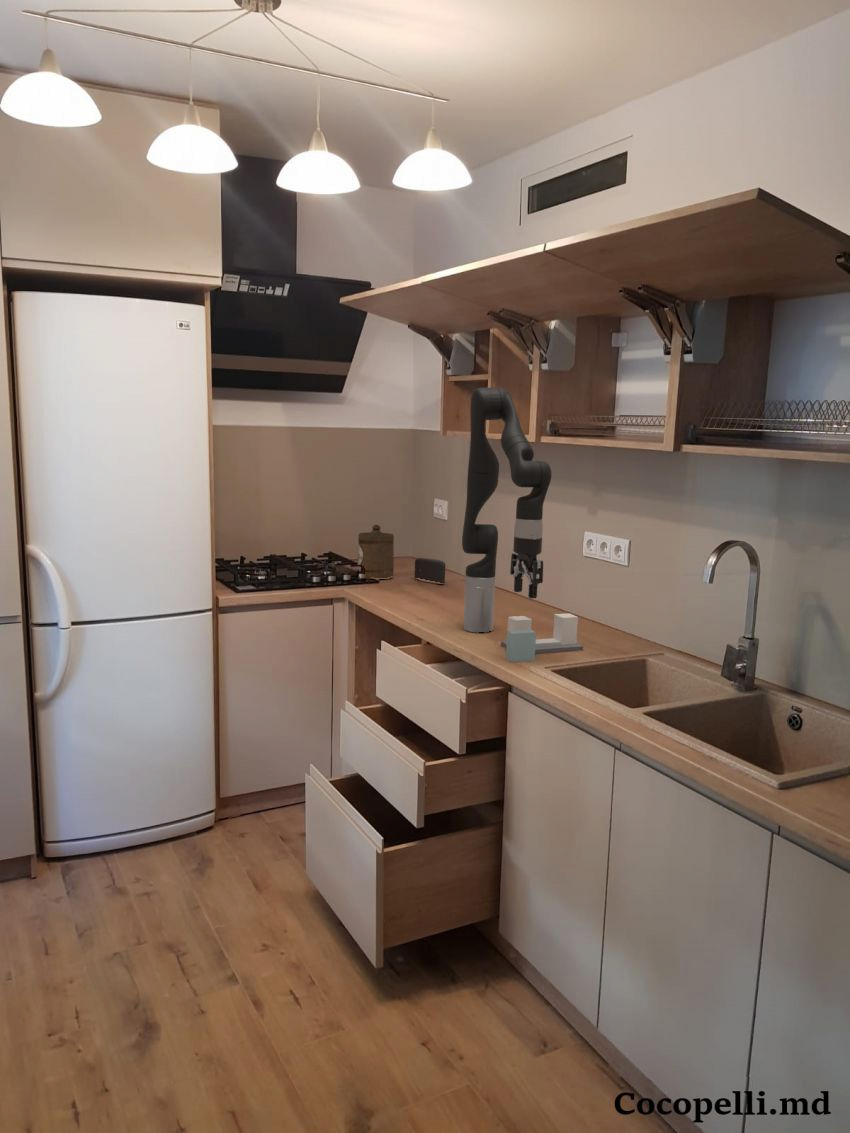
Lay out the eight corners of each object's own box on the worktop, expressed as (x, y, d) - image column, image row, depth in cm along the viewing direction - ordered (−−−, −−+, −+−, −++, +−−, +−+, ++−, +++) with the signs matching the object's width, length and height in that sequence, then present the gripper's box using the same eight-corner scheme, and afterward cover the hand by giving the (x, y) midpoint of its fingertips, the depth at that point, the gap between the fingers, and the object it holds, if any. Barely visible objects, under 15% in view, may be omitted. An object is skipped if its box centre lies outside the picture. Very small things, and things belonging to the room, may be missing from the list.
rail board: (500, 645, 247) (502, 614, 245) (563, 641, 254) (565, 611, 253) (517, 655, 237) (519, 622, 235) (583, 650, 244) (584, 619, 242)
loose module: (505, 659, 232) (507, 630, 231) (528, 657, 235) (529, 629, 233) (511, 662, 229) (513, 633, 228) (534, 660, 231) (536, 632, 230)
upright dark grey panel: (450, 584, 341) (451, 561, 340) (442, 586, 338) (443, 562, 336) (421, 579, 352) (421, 556, 351) (413, 580, 349) (414, 557, 347)
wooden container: (364, 573, 361) (365, 522, 358) (397, 575, 358) (398, 524, 354) (352, 579, 347) (353, 525, 344) (386, 581, 343) (388, 527, 340)
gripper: (503, 532, 232) (501, 590, 234) (528, 539, 219) (525, 600, 221) (528, 532, 234) (525, 589, 237) (553, 538, 221) (550, 599, 224)
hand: (525, 594), depth 229 cm, fingers open, 8 cm apart
